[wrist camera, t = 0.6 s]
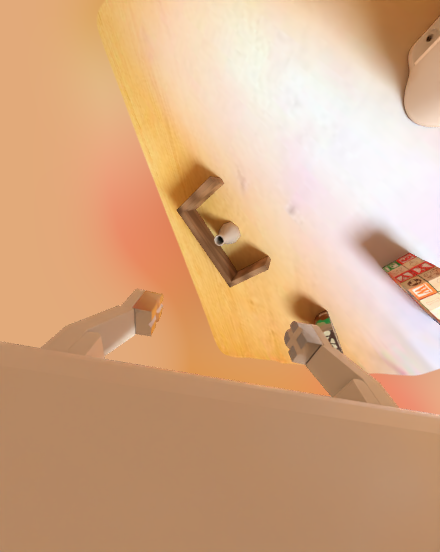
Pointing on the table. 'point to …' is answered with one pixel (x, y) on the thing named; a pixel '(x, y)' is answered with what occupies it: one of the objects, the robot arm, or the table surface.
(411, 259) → the stack of blocks
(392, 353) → the table surface
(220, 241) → the flask
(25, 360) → the robot arm
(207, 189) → the u-shaped enclosure
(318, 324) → the food container
